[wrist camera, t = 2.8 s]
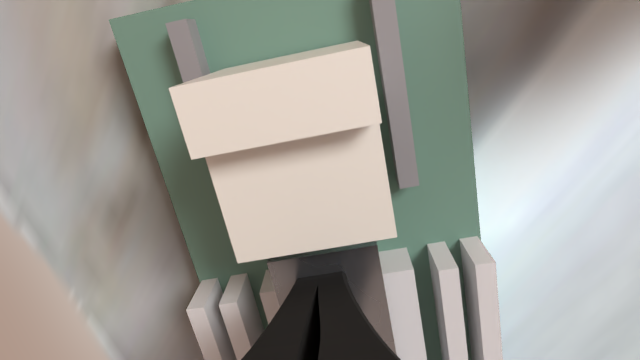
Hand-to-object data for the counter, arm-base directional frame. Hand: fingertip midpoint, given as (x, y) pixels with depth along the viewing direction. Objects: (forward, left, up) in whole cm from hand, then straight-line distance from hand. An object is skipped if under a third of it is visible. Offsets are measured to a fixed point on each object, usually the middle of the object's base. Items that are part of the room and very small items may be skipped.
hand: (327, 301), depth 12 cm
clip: (+4, 0, -3) cm, 5 cm away
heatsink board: (-1, 0, -4) cm, 4 cm away
